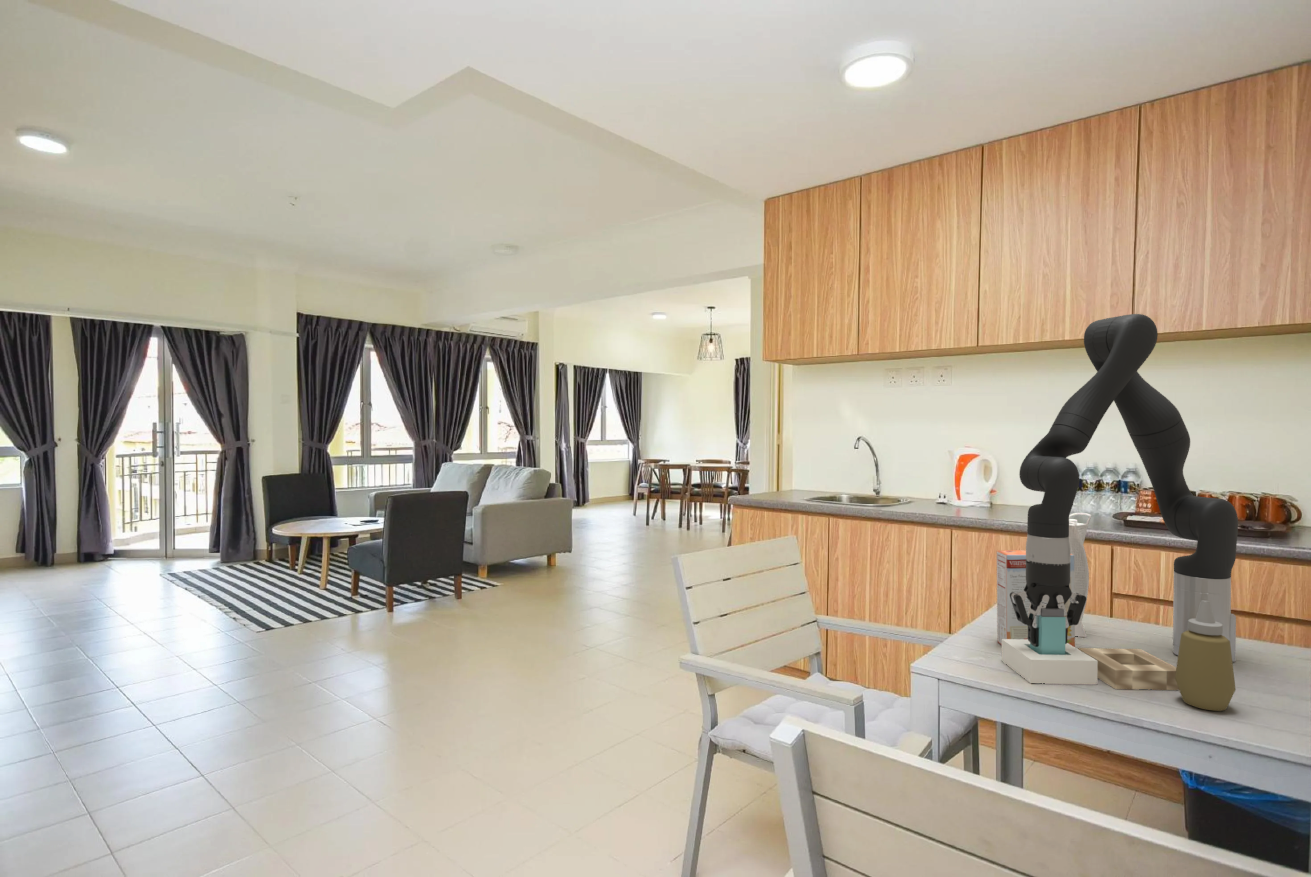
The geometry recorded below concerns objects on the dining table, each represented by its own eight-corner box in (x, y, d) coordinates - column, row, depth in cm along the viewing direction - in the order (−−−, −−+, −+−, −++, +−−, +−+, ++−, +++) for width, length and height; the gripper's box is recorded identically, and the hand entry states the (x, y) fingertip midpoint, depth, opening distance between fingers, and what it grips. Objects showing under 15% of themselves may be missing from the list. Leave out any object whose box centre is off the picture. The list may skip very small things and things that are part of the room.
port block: (1061, 661, 136) (1062, 638, 136) (1097, 684, 124) (1097, 659, 124) (1001, 660, 137) (1001, 637, 137) (1030, 683, 125) (1031, 658, 125)
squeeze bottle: (1162, 696, 119) (1163, 595, 118) (1204, 694, 119) (1205, 594, 119) (1203, 716, 111) (1205, 608, 110) (1248, 713, 111) (1249, 606, 111)
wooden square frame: (1139, 666, 133) (1140, 648, 133) (1183, 690, 121) (1183, 671, 121) (1077, 665, 134) (1077, 648, 134) (1115, 689, 122) (1115, 670, 122)
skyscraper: (1083, 629, 157) (1084, 511, 156) (1096, 639, 150) (1097, 515, 149) (1046, 627, 159) (1046, 510, 158) (1057, 637, 152) (1058, 514, 151)
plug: (1052, 663, 132) (1053, 603, 132) (1065, 671, 128) (1065, 609, 128) (1030, 663, 133) (1030, 603, 132) (1041, 671, 128) (1041, 609, 128)
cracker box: (1061, 643, 147) (1062, 549, 147) (1075, 652, 141) (1076, 554, 141) (995, 641, 149) (995, 548, 148) (1006, 650, 143) (1007, 553, 142)
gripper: (1074, 554, 133) (1074, 640, 134) (1001, 554, 134) (1001, 639, 134) (1097, 562, 126) (1096, 652, 126) (1019, 562, 127) (1019, 651, 127)
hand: (1047, 645), depth 130 cm, fingers closed on plug, 4 cm apart
